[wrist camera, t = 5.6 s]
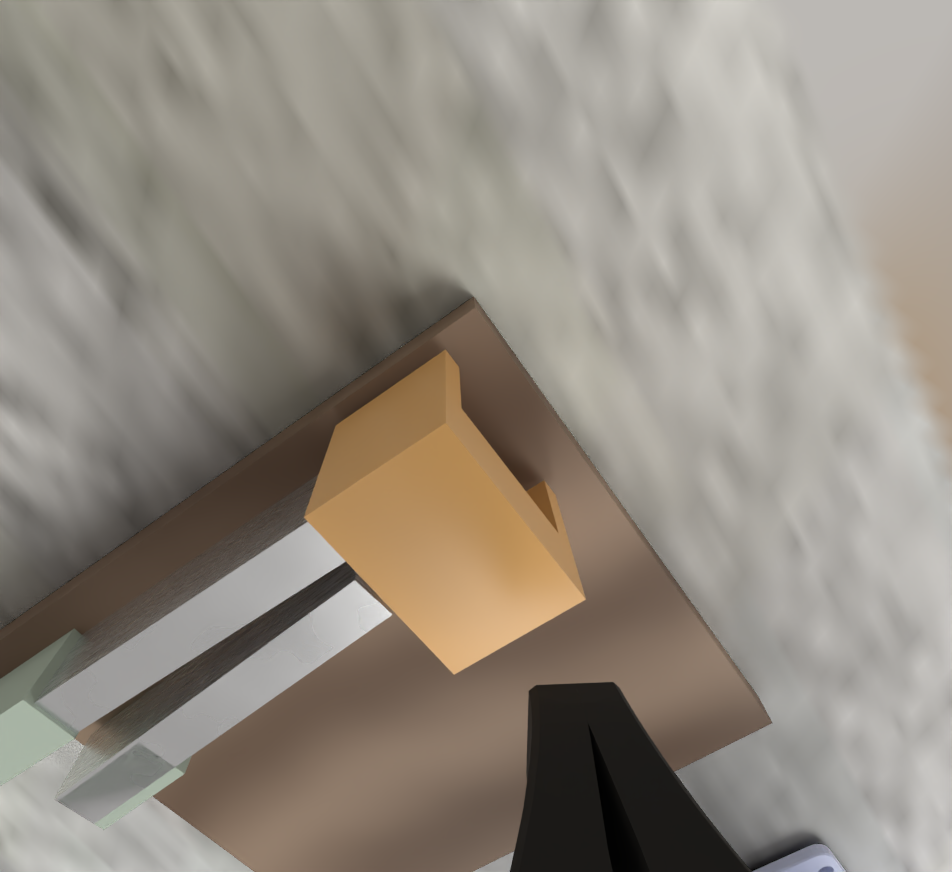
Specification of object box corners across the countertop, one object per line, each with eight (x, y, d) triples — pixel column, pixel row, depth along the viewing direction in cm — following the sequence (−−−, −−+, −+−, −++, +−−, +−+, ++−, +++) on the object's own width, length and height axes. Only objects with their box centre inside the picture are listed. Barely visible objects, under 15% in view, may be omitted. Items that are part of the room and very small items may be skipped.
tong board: (758, 697, 21) (811, 796, 18) (343, 907, 25) (328, 1021, 21) (473, 296, 16) (480, 340, 13) (-10, 636, 19) (-97, 737, 16)
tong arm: (406, 569, 17) (402, 623, 15) (135, 763, 20) (103, 829, 18) (364, 529, 17) (354, 579, 15) (91, 733, 19) (54, 799, 17)
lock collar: (555, 495, 17) (585, 599, 13) (452, 558, 17) (453, 674, 14) (445, 349, 15) (445, 422, 11) (335, 425, 16) (304, 517, 12)
